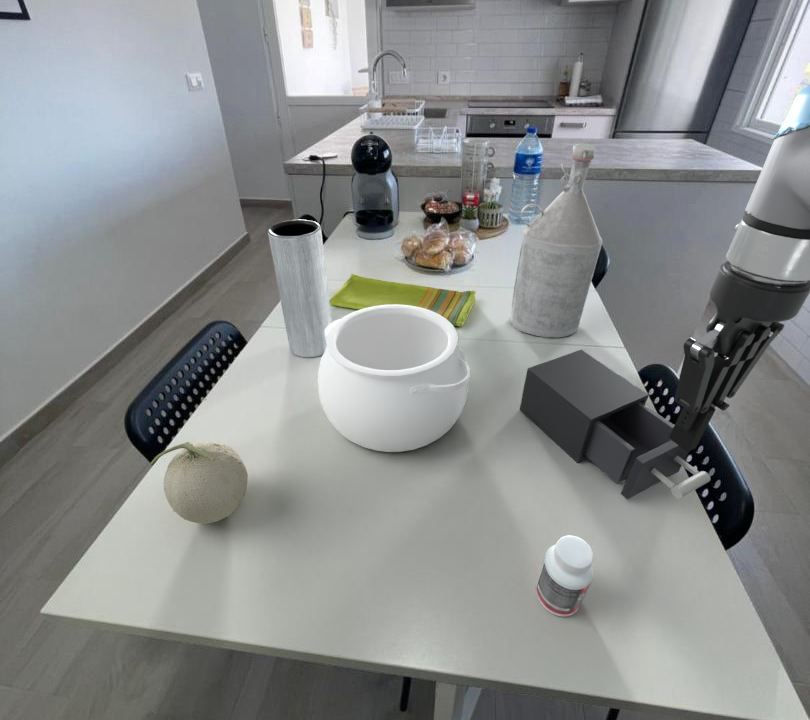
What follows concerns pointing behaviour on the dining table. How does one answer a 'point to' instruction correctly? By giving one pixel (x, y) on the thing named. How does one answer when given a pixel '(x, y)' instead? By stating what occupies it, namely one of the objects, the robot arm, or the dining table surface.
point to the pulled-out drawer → (640, 451)
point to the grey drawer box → (575, 398)
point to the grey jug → (557, 258)
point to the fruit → (204, 481)
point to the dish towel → (404, 297)
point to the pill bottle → (565, 576)
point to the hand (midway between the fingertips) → (681, 442)
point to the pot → (392, 377)
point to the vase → (302, 284)
